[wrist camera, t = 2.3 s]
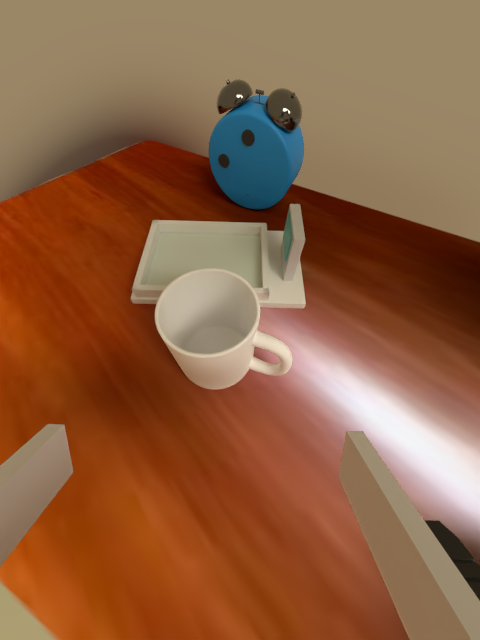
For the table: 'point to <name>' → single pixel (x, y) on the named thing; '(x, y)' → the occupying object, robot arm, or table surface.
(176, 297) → the cup
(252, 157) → the alarm clock
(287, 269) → the dock
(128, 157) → the table surface
